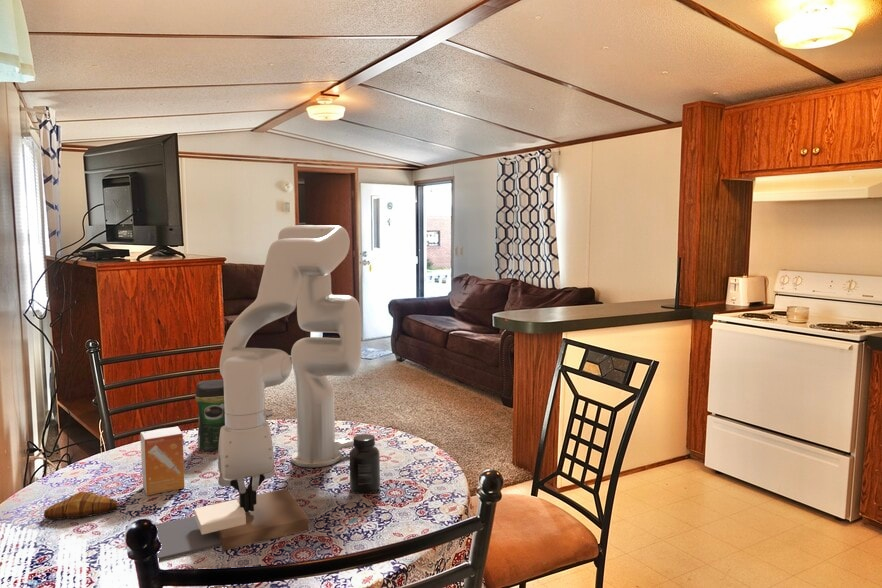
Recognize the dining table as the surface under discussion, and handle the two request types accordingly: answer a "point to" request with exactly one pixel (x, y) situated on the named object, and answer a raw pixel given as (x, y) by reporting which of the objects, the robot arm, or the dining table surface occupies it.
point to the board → (266, 520)
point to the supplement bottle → (364, 465)
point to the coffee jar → (210, 413)
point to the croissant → (81, 506)
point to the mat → (184, 538)
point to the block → (219, 516)
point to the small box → (162, 460)
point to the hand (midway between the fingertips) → (248, 509)
